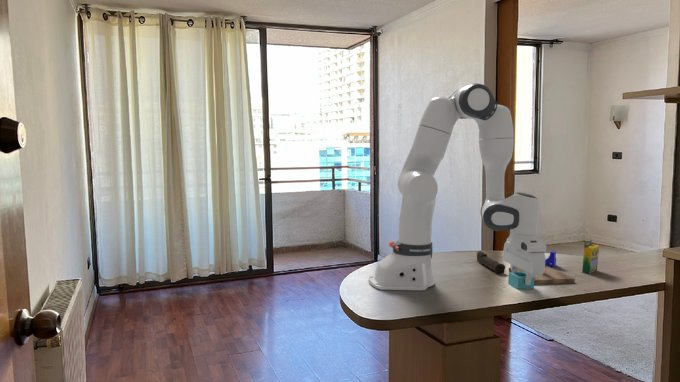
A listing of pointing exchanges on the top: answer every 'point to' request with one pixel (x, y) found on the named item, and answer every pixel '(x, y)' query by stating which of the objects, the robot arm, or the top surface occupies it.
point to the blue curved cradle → (551, 260)
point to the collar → (519, 280)
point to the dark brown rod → (490, 263)
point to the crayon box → (590, 257)
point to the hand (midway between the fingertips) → (521, 281)
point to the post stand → (551, 277)
